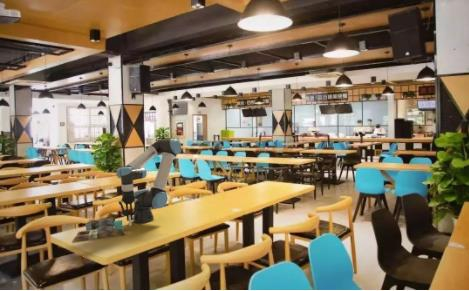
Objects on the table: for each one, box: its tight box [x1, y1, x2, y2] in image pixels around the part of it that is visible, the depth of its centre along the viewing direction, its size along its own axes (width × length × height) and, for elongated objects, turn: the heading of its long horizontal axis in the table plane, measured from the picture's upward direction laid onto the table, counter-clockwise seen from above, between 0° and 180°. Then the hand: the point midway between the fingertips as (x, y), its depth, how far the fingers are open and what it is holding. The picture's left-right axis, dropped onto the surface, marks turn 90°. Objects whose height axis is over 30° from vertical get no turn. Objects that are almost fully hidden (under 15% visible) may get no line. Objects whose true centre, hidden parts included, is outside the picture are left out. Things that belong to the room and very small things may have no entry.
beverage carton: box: [85, 216, 116, 231], centre depth 253 cm, size 8×19×7 cm, turn 142°
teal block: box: [114, 219, 124, 230], centre depth 237 cm, size 5×5×5 cm
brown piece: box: [75, 219, 126, 242], centre depth 234 cm, size 29×12×9 cm, turn 106°
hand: (130, 225), depth 239 cm, fingers closed
